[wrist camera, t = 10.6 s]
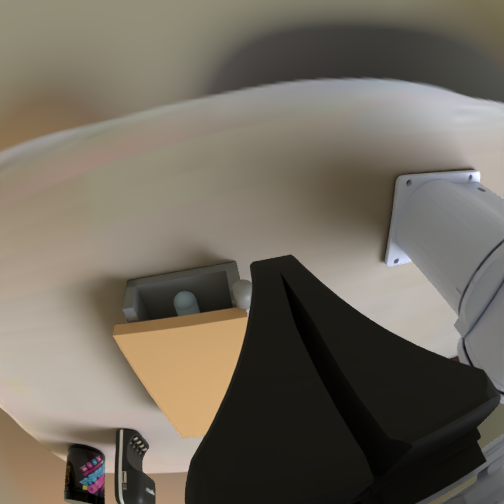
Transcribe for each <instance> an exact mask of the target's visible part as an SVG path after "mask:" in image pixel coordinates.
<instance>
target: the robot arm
mask: <svg viewBox="0 0 504 504" xmlns="http://www.w3.org/2000/svg"><path fill="white" fill-rule="evenodd" d="M408 180H409V182H408V183H407V181H408ZM479 181H480V172H479V171H477V170H467V171H450V172H435V173H422V174H410V175H401V176H399V177H398V178H397V180H396V185H395V194H394V202H393V210H392V218H391V225H390V232H389V238H388V244H387V250H386V256H385V264H386V265H387V266H388V267H391V266H395V265H399V264H403V263H407V262H411V261H413V263H414V264H415V265H416V266H417V267H418V268H419V269H420V270H421V272H422V273H423V274H424V275H425V276H426V277H427V279H428V280H429V281H430V282H431V283H432V284H433V286H434V287H435V288H436V289H437V290H438V292H439V293H440V294H441V295H442V296H443V298H444V299H445V300H446V301H447V303H448V304H449V305H450V306H451V307H452V309H453V310H454V311H455V313H456V314H457V315H458V316H459V317H458V319H457V321H456V323H455V324H454V327H455V328H456V329H457V331H458V332H459V333H460V335H461V336H462V337H461V338H460V340H459V342H458V346H457V351H458V357H459V360H460V362H457V361H454V360H451V359H448V358H446V357H443V356H441V355H438V354H436V353H433V352H431V351H428V350H426V349H424V348H422V347H420V346H417V345H415V344H413V343H411V342H409V341H407V340H405V339H403V338H401V337H400V336H398V335H396V334H394V333H392V332H390V331H388V330H387V329H385V328H383V327H382V326H380V325H378V324H377V323H375V322H374V321H372V320H370V319H369V318H367V317H366V316H364V315H363V314H361V313H360V312H359V311H357V310H356V309H354V308H353V307H352V306H350V305H349V304H348V303H346V302H345V301H344V300H343V299H341V298H340V297H339V296H337V295H336V294H335V293H334V292H333V291H331V290H330V289H329V288H328V287H327V286H325V285H324V284H323V283H322V282H321V281H320V280H319V279H317V278H316V277H315V276H314V275H313V274H312V273H311V272H310V271H309V270H308V269H306V268H305V267H304V266H303V265H302V264H301V263H300V262H299V261H298V260H297V259H296V258H295V257H294V256H292V255H287V256H281V257H276V258H271V259H266V260H260V261H255V262H252V264H251V265H250V271H251V278H252V294H251V303H250V311H249V317H248V322H247V327H246V332H245V336H244V340H243V344H242V348H241V351H240V354H239V358H238V361H237V364H236V367H235V370H234V373H233V375H232V378H231V381H230V384H229V386H228V389H227V391H226V393H225V396H224V398H223V400H222V402H221V404H220V407H219V409H218V411H217V413H216V415H215V417H214V420H213V422H212V424H211V425H210V427H209V429H208V431H207V433H206V435H205V436H204V438H203V440H202V442H201V443H200V445H199V447H198V449H197V450H196V452H195V454H194V455H193V457H192V459H191V462H190V466H189V471H188V475H187V481H186V487H185V504H427V503H429V502H431V501H433V500H435V499H436V498H438V497H440V496H442V495H444V494H445V493H447V492H449V491H451V490H452V489H454V488H455V487H457V486H459V485H460V484H462V483H464V482H465V481H467V480H468V479H470V478H471V477H473V476H474V475H476V474H477V473H478V475H477V480H476V482H474V483H473V484H471V485H469V486H467V487H466V488H464V489H462V490H461V491H459V492H457V493H455V494H454V495H452V496H450V497H449V498H447V499H445V500H444V501H442V502H441V503H439V504H504V433H503V434H502V435H501V436H499V437H498V438H497V439H495V440H494V441H492V442H491V443H490V444H488V445H487V446H485V447H484V448H482V449H480V447H479V445H478V443H477V440H479V439H480V437H481V435H480V433H479V431H478V429H477V428H476V427H477V426H479V425H480V424H481V423H482V422H483V421H484V420H485V419H486V418H487V417H488V416H489V415H490V414H491V413H492V411H494V409H495V408H496V407H497V406H498V404H499V403H502V404H504V199H503V198H501V197H500V196H498V195H497V194H495V193H494V192H492V191H491V190H489V189H488V188H486V187H485V186H483V185H482V184H480V183H479ZM406 183H407V184H406ZM395 259H396V260H395Z"/></svg>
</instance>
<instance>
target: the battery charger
mask: <svg viewBox="0 0 504 504" xmlns="http://www.w3.org/2000/svg"><path fill="white" fill-rule="evenodd" d="M147 449H149V445H148V443H147V442H146V441H145V439H144V438H143V437H142V436H141V434H140V433H139V432H137V431H132V430H123V429H121V430H117V432H116V454H115V498H116V501H117V503H118V504H155V483H154V481H153V480H152V479H151V478H150V477H148V476H147V475H146V474H145V473H144V472H143V471H142V461H143V457H144V455H145V453H146V451H147Z"/></svg>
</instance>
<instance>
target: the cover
mask: <svg viewBox="0 0 504 504" xmlns="http://www.w3.org/2000/svg"><path fill="white" fill-rule="evenodd" d="M247 322H248V317H247V312H246V309H240V308H238V307H235V308H229V309H223V310H217V311H211V312H205V313H198V314H191V315H185V316H178V317H171V318H164V319H157V320H149V321H141V322H134V323H126V324H117V325H115V327H114V331H113V337H114V339H115V341H116V342H117V344H118V346H119V347H120V349H121V351H122V352H123V354H124V355H125V357H126V359H127V360H128V362H129V363H130V365H131V367H132V368H133V370H134V371H135V373H136V374H137V376H138V377H139V379H140V380H141V382H142V383H143V385H144V386H145V388H146V389H147V391H148V392H149V394H150V395H151V397H152V398H153V399H154V401H155V402H156V404H157V405H158V406H159V408H160V409H161V410H162V412H163V413H164V415H165V416H166V417H167V419H168V420H169V421H170V423H171V424H172V425H173V426H174V428H175V429H176V430H177V432H178V433H179V434H180V435H181V437H182V438H187V437H198V436H205V435H206V433H207V431H208V429H209V427H210V425H211V424H212V422H213V420H214V417H215V415H216V413H217V411H218V409H219V407H220V404H221V402H222V400H223V398H224V396H225V393H226V391H227V389H228V386H229V384H230V381H231V378H232V375H233V373H234V370H235V367H236V364H237V361H238V358H239V354H240V351H241V348H242V344H243V340H244V336H245V332H246V327H247Z"/></svg>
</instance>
